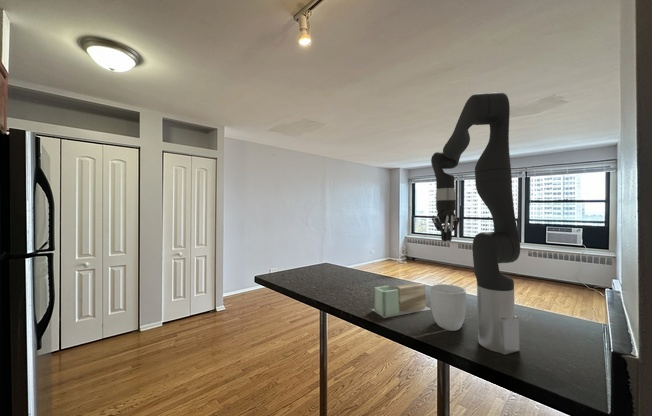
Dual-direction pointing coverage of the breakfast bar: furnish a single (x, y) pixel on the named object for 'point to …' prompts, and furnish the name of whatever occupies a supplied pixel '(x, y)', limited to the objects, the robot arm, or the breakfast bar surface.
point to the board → (405, 311)
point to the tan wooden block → (411, 296)
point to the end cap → (386, 300)
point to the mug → (448, 306)
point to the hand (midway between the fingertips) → (446, 240)
